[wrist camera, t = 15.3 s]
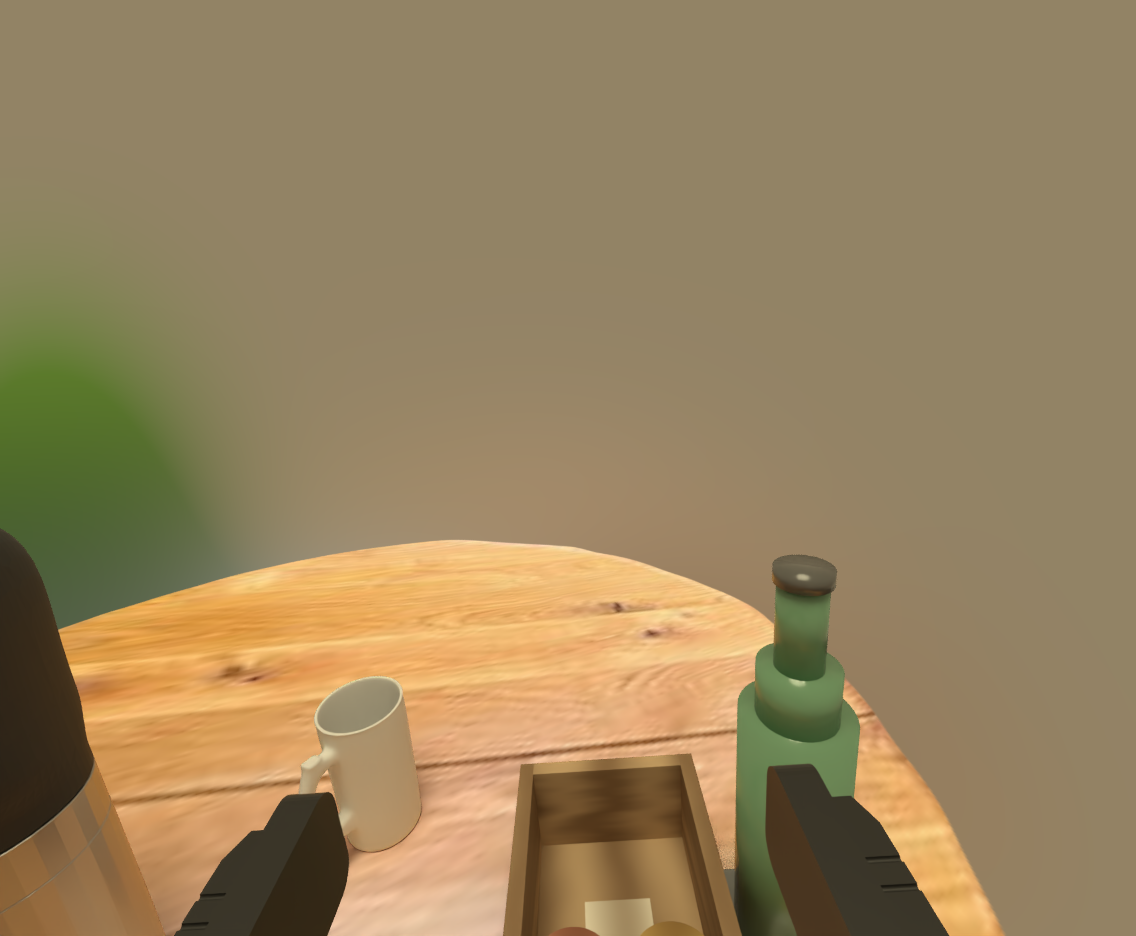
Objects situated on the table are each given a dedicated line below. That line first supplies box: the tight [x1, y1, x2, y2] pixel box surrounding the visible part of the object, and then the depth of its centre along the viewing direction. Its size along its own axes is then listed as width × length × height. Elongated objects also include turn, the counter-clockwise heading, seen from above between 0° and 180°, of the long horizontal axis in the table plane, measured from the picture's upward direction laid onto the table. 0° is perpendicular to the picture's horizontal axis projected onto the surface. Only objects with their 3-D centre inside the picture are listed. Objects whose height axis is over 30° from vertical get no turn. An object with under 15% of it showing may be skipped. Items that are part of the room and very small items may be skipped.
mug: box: [299, 676, 421, 852], centre depth 43 cm, size 10×7×12 cm, turn 154°
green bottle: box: [734, 555, 860, 936], centre depth 31 cm, size 6×6×27 cm
